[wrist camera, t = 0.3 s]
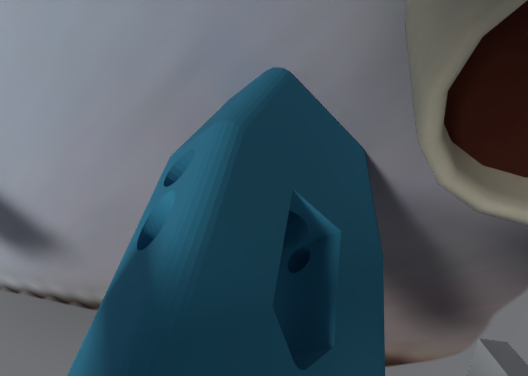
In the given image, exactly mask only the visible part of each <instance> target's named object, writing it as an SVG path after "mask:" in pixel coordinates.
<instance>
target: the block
mask: <svg viewBox="0 0 528 376" xmlns="http://www.w3.org/2000/svg"><path fill="white" fill-rule="evenodd" d="M67 376H385V346H384V288H383V253H382V247H381V241H380V236H379V230H378V224H377V218H376V213H375V207H374V201H373V195H372V189H371V184H370V178H369V172H368V166H367V161H366V155H365V151H364V149H363V148H362V147H361V145H360V144H359V143H358V142H357V141H356V140H355V139H354V138H353V137H352V136H351V135H350V134H349V133H348V132H347V131H346V130H345V129H344V128H343V127H342V126H341V125H340V124H339V122H338V121H337V120H336V119H335V118H334V117H333V116H332V115H331V114H330V113H329V112H328V111H327V110H326V109H325V108H324V107H323V106H322V105H321V104H320V103H319V102H318V100H317V99H316V98H315V97H314V96H313V95H312V94H311V93H310V92H309V91H308V90H307V89H306V88H305V87H304V86H303V85H302V84H301V83H300V82H299V81H298V80H297V78H296V77H295V76H294V75H293V74H292V73H290V72H289V71H287V70H285V69H283V68H271V69H269V70H267V71H266V72H264V73H263V74H262V75H260V76H259V77H258V78H257V79H255V80H254V81H253V82H251V83H250V84H249V85H248V86H246V87H245V88H244V89H242V90H241V91H240V92H239V93H237V94H236V95H235V96H233V97H232V98H231V99H230V100H229V101H228V102H227V103H226V104H225V105H223V106H222V107H221V108H220V109H219V110H218V111H217V112H216V113H215V114H214V115H213V116H212V117H211V118H210V119H209V120H208V121H207V122H206V123H205V124H204V125H203V126H202V127H201V128H200V129H199V130H198V131H197V132H196V133H195V134H193V135H192V136H191V137H190V138H189V139H188V140H187V141H186V142H185V143H184V144H183V145H182V146H181V147H180V148H179V149H178V150H177V151H176V152H175V153H174V154H173V155H172V156H171V157H170V159H169V161H168V163H167V165H166V167H165V169H164V171H163V173H162V176H161V178H160V180H159V182H158V184H157V186H156V188H155V190H154V193H153V195H152V197H151V199H150V201H149V203H148V205H147V207H146V210H145V212H144V214H143V216H142V218H141V220H140V222H139V224H138V226H137V229H136V231H135V233H134V235H133V237H132V239H131V241H130V243H129V246H128V248H127V250H126V252H125V254H124V256H123V258H122V260H121V263H120V265H119V267H118V269H117V271H116V273H115V275H114V277H113V280H112V282H111V284H110V286H109V288H108V290H107V292H106V294H105V297H104V299H103V301H102V303H101V305H100V307H99V309H98V311H97V314H96V316H95V318H94V320H93V322H92V325H91V327H90V328H89V331H88V333H87V335H86V337H85V339H84V341H83V343H82V345H81V348H80V350H79V352H78V354H77V356H76V358H75V360H74V362H73V365H72V367H71V369H70V371H69V373H68V375H67Z"/></svg>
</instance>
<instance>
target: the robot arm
mask: <svg viewBox="0 0 528 376" xmlns="http://www.w3.org/2000/svg"><path fill="white" fill-rule="evenodd" d="M467 376H528V365H527V364H526V363H525V362H524V361H523V359H522V358H521V357H520V356H519V355H518V354H517V353H516V351H515V350H514V349H513V348H512V347H511V346H510V345H509V344H508V342H501V341H494V340H486V339H478V342H477V345H476V349H475V352H474V355H473V358H472V361H471V365H470V368H469V371H468V374H467Z"/></svg>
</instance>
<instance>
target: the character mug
mask: <svg viewBox="0 0 528 376" xmlns="http://www.w3.org/2000/svg"><path fill="white" fill-rule="evenodd" d="M405 29H406V39H407V49H408V58H409V68H410V78H411V87H412V97H413V106H414V116H415V126H416V132H417V136H418V141H419V145H420V147H421V149H422V151H423V153H424V155H425V157H426V159H427V162H428V164H429V166H430V168H431V170H432V172H433V174H434V176H435V178H436V181H437V183H438V185H440V186H441V187H443V188H444V189H445V190H447V191H448V192H450V193H451V194H452V195H454V196H455V197H457V198H458V199H460V200H461V201H462V202H464V203H465V204H467V205H468V206H469V207H471V208H472V209H474V210H475V211H476V212H480V213H484V214H487V215H491V216H495V217H498V218H502V219H506V220H509V221H513V222H517V223H521V224H524V225H528V0H407V4H406V23H405Z"/></svg>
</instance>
